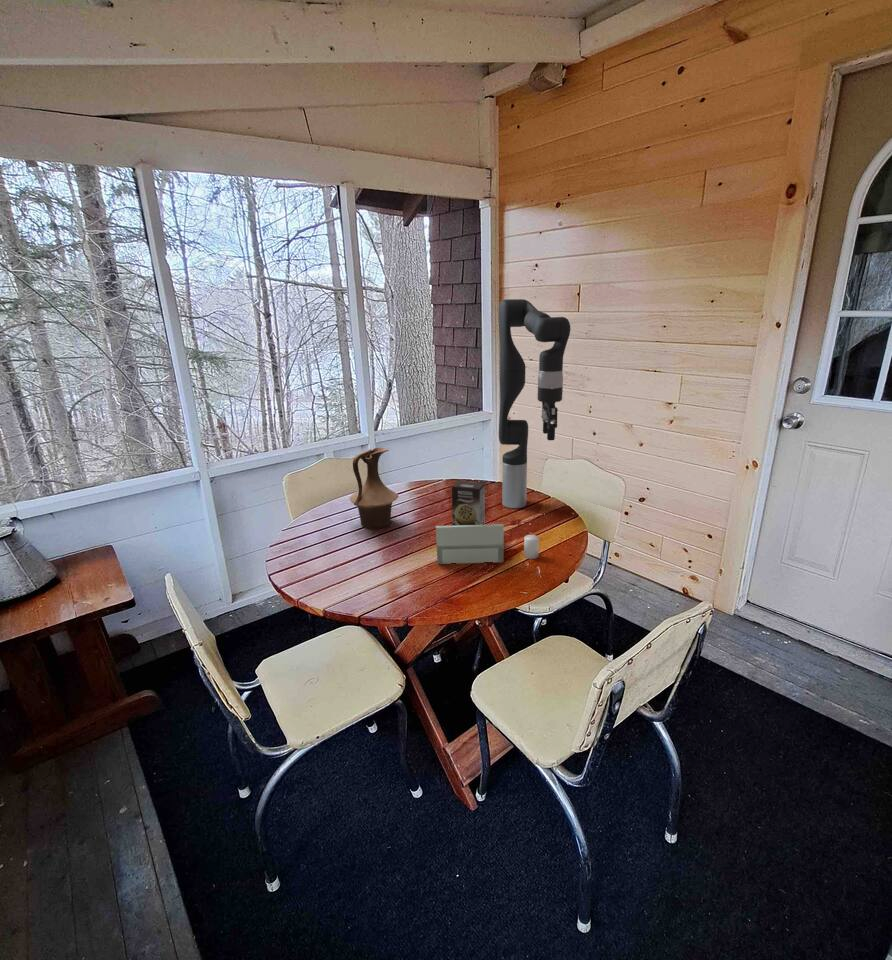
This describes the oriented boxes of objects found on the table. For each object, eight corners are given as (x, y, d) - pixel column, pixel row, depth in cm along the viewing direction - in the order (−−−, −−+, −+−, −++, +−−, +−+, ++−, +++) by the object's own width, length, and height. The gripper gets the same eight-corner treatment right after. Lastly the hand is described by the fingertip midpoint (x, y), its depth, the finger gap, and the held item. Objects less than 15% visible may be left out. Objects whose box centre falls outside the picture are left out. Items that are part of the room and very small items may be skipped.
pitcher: (375, 537, 174) (368, 458, 165) (341, 526, 184) (333, 451, 175) (409, 520, 188) (404, 446, 179) (375, 511, 198) (370, 440, 189)
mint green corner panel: (438, 543, 169) (436, 509, 165) (499, 542, 168) (499, 508, 165) (437, 564, 155) (435, 527, 152) (503, 562, 155) (503, 525, 151)
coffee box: (452, 534, 161) (450, 486, 155) (458, 526, 166) (457, 479, 161) (480, 538, 158) (479, 488, 152) (485, 529, 163) (485, 482, 158)
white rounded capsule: (523, 552, 161) (523, 534, 159) (537, 551, 161) (537, 534, 159) (525, 558, 157) (525, 541, 155) (539, 558, 157) (540, 540, 155)
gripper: (534, 382, 164) (533, 431, 170) (541, 389, 151) (540, 442, 156) (558, 381, 164) (556, 430, 169) (567, 388, 151) (564, 442, 156)
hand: (548, 436), depth 163 cm, fingers open, 8 cm apart
